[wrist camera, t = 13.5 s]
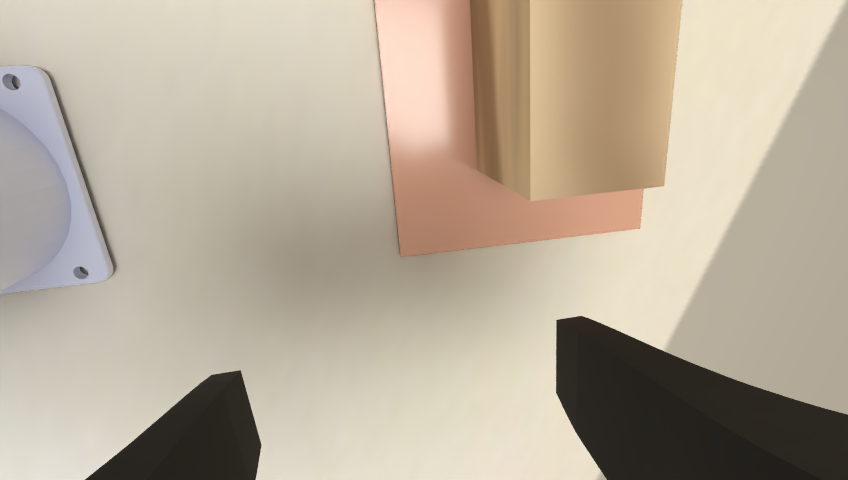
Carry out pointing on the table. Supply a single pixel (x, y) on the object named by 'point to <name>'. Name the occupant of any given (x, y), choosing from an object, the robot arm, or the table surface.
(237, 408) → the robot arm
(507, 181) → the oak block
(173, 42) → the table surface
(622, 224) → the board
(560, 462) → the table surface
